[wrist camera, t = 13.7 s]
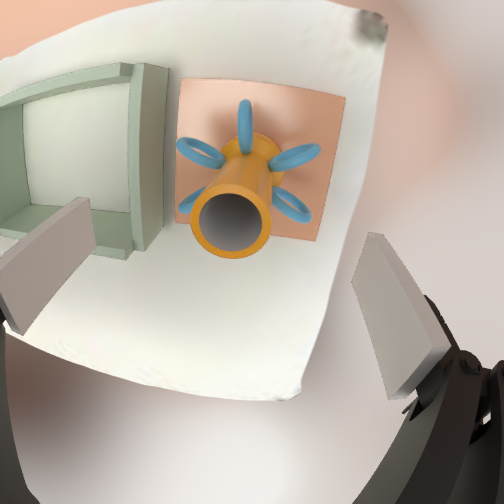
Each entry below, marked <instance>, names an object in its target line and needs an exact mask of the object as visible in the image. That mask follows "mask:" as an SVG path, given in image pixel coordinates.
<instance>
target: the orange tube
mask: <svg viewBox="0 0 504 504" xmlns="http://www.w3.org/2000/svg"><path fill="white" fill-rule="evenodd" d="M176 147H177V149H178V150H179V152H180V153H181V154H182V155H184V156H185V157H186V158H188V159H189V160H191V161H193V162H195V163H197V164H199V165H201V166H204V167H207V168H210V169H215V176H214V177H213V179H212V180H211V181H210V183H209V184H208V185H207V186H205V187H203V188H201V189H199V190H197V191H196V192H194V193H192V194H191V195H189V196H188V197H187V198H185V199H184V200H183V201H182V202H181V203H180V204H179V206H178V210H179V212H180V213H182V214H187V213H191V216H190V223H191V228H192V231H193V234H194V236H195V238H196V239H197V241H198V242H199V243H200V244H201V245H202V246H203V247H204V248H205V249H206V250H207V251H209V252H211V253H212V254H214V255H217V256H219V257H223V258H229V259H238V258H244V257H247V256H250V255H252V254H254V253H255V252H257V251H258V250H259V249H261V248H262V247H263V245H264V244H265V243H266V241H267V240H268V238H269V235H270V232H271V223H272V205H273V206H274V207H275V208H277V209H278V210H279V211H280V212H281V213H283V214H284V215H286V216H287V217H289V218H290V219H292V220H294V221H296V222H299V223H304V224H306V223H309V222H310V221H311V220H312V213H311V211H310V210H309V208H308V207H307V206H306V205H305V204H304V203H303V202H302V201H301V200H300V199H298V198H297V197H296V196H294V195H293V194H291V193H290V192H288V191H286V190H284V189H282V188H280V187H279V186H280V184H281V182H282V179H283V175H284V171H286V170H289V169H292V168H295V167H298V166H300V165H303V164H305V163H307V162H309V161H311V160H312V159H314V158H315V157H317V156H318V155H319V153H320V151H321V148H320V146H319V145H318V144H316V143H308V144H304V145H300V146H297V147H294V148H291V149H289V150H286V151H284V152H282V153H281V151H280V149H279V147H278V145H277V144H276V143H275V142H274V141H273V140H272V139H271V138H270V137H268V136H266V135H264V134H261V133H257V132H253V114H252V106H251V102H250V101H249V100H247V99H244V100H242V101H241V102H240V103H239V107H238V136H236V137H234V138H233V139H232V140H231V141H229V142H228V143H227V144H226V145H225V146H224V147H223V148H222V149H221V151H220V152H219V151H218V150H217V149H215V148H214V147H212V146H211V145H209V144H207V143H205V142H203V141H200V140H198V139H194V138H190V137H181V138H179V139H178V140H177V142H176ZM191 147H192V148H195V149H198V150H200V151H202V152H204V153H206V154H208V155H209V156H211V157H212V158H210V157H207V156H205V155H203V154H201V153H199V152H197V151H195V150H194V149H192V148H191ZM281 198H282V199H284V200H286V201H287V202H289V203H290V204H292V205H293V206H294V207H295V208H296V209H297V210H298V211H297V210H295V209H294V208H292V207H291V206H289V205H288V204H287V203H285V202H284V201H283V200H282V199H281Z"/></svg>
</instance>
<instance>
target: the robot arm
mask: <svg viewBox="0 0 504 504" xmlns="http://www.w3.org/2000/svg"><path fill="white" fill-rule="evenodd" d="M95 248H96V241H95V236H94V230H93V223H92V217H91V209H90V201H89V198H80V197H78V198H76V199H75V200H73V201H72V202H70V203H69V204H67V205H66V206H64V207H63V208H61V209H60V210H59V211H57V212H56V213H54V214H53V215H52V216H50V217H49V218H48V219H46V220H45V221H44V222H42V223H41V224H40V225H38V226H37V227H36V228H35V229H33V230H32V231H31V232H30V233H28V234H27V235H26V236H25V237H23V238H22V239H21V240H20V241H19V242H17V243H16V244H15V245H14V246H13V247H11V248H10V249H9V250H8V251H7V252H6V253H5V254H4V255H2V256H1V257H0V504H40V503H39V501H38V500H37V499H36V498H35V497H34V496H33V495H32V493H31V492H30V491H29V490H28V488H27V485H26V483H25V480H24V477H23V473H22V470H21V467H20V463H19V459H18V455H17V451H16V447H15V443H14V438H13V433H12V427H11V421H10V415H9V407H8V400H7V388H6V373H5V327H4V326H3V324H2V323H3V322H4V321H5V320H6V321H7V322H8V324H9V326H10V328H11V330H12V331H14V332H16V333H18V334H20V335H22V336H23V335H24V334H25V333H26V331H27V330H28V328H29V327H30V326H31V324H32V323H33V322H34V320H35V319H36V318H37V316H38V315H39V314H40V312H41V311H42V310H43V308H44V307H45V306H46V305H47V303H48V302H49V301H50V300H51V298H52V297H53V296H54V295H55V293H56V292H57V291H58V290H59V289H60V287H61V286H62V285H63V284H64V283H65V281H66V280H67V279H68V278H69V277H70V276H71V274H72V273H73V272H74V271H75V270H76V269H77V268H78V267H79V265H80V264H81V263H82V262H83V261H84V260H85V259H86V258H87V257H88V256H89V255H90V254H91V252H92V251H93V250H94V249H95ZM351 283H352V285H353V288H354V291H355V293H356V296H357V299H358V302H359V305H360V307H361V310H362V313H363V316H364V319H365V322H366V325H367V328H368V331H369V334H370V338H371V341H372V344H373V347H374V351H375V354H376V357H377V361H378V364H379V367H380V371H381V375H382V378H383V382H384V386H385V390H386V393H387V397H388V400H395V399H404V398H407V397H408V396H409V395H410V394H411V393H412V392H413V391H414V390H415V389H416V391H417V394H418V397H417V398H416V399H415V400H414V401H413V402H412V403H411V404H410V405H409V406H408V407H406V408H405V409H404V411H403V412H402V414H405V413H406V412H407V411H408V410H409V412H408V414H407V416H406V418H405V420H404V422H403V424H402V426H401V428H400V430H399V432H398V434H397V436H396V438H395V439H394V441H393V443H392V445H391V447H390V448H389V450H388V452H387V454H386V455H385V457H384V458H383V460H382V461H381V463H380V465H379V466H378V468H377V470H376V471H375V473H374V474H373V476H372V477H371V479H370V480H369V482H368V483H367V484H366V486H365V487H364V489H363V490H362V491H361V493H360V494H359V496H358V497H357V498H356V499H355V501H354V502H353V503H352V504H504V360H501V361H499V362H498V363H497V365H495V367H494V368H493V369H492V370H491V369H487V368H482V366H481V363H480V361H479V360H478V359H477V357H476V356H475V355H473V354H472V353H470V352H468V351H466V350H460V349H459V347H458V345H457V343H456V341H455V339H454V337H453V335H452V333H451V331H450V330H449V328H448V326H447V324H446V323H445V321H444V319H443V317H442V316H441V315H440V312H439V310H438V309H437V307H436V305H435V304H434V303H433V302H432V301H431V300H430V299H429V298H428V297H427V296H426V295H423V294H422V292H421V291H420V289H419V287H418V286H417V284H416V282H415V281H414V279H413V278H412V276H411V274H410V273H409V271H408V270H407V268H406V267H405V265H404V264H403V262H402V261H401V259H400V258H399V256H398V255H397V253H396V252H395V250H394V249H393V248H392V246H391V245H390V243H389V242H388V241H387V239H386V238H385V236H384V235H383V234H378V233H373V232H368V235H367V239H366V241H365V244H364V247H363V250H362V254H361V256H360V259H359V262H358V265H357V267H356V270H355V273H354V275H353V278H352V281H351ZM490 412H491V419H490V420H489V421H488V422H487V423H486V424H483V418H484V417H485V416H487V415H488V414H489V413H490Z"/></svg>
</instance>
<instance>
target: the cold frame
mask: <svg viewBox="0 0 504 504" xmlns="http://www.w3.org/2000/svg"><path fill="white" fill-rule="evenodd" d="M168 75H169V69H167V68H163V67H159V66H155V65H151V64H146V63H139V64H127V63H121V62H120V63H114V64H108V65H103V66H98V67H93V68H88V69H84V70H79V71H75V72H71V73H68V74H64V75H60V76H57V77H53V78H50V79H47V80H44V81H41V82H38V83H35V84H32V85H29V86H27V87H24V88H21V89H19V90H16V91H14V92H11V93H9V94H6V95H4V96H2V97H0V235H1V236H5V237H10V238H14V239H19V240H21V239H22V238H23V237H25V236H26V235H27V234H28V233H30V232H31V231H32V230H33V229H35V228H36V227H37V226H38V225H40V224H41V223H42V222H44V221H45V220H46V219H48V218H49V217H50V216H52V215H53V214H54V213H56V212H57V211H59V210H60V209H61V208H63V207H59V206H47V205H35V204H31V201H30V196H29V189H28V183H27V175H26V167H25V157H24V144H23V104H25V103H28V102H31V101H34V100H38V99H41V98H45V97H49V96H53V95H57V94H61V93H65V92H70V91H75V90H80V89H85V88H91V87H96V86H103V85H110V84H118V83H126V82H130V93H129V110H128V182H129V200H130V213H122V212H112V211H102V210H92V209H91V217H92V223H93V230H94V236H95V241H96V248H95V249H94V250H93V251H92V252H91V254H94V255H99V256H105V257H110V258H116V259H122V260H127V258H128V257H129V256H130V255H131V253H132V252H133V251H134V250H137V251H145V250H146V249H147V247H148V246H149V245H150V243H151V242H152V241H153V239H154V238H155V237H156V236H157V234H158V233H159V232H160V230H161V229H162V228H163V227H164V214H163V152H164V127H165V110H166V97H167V85H168Z"/></svg>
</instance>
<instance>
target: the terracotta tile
mask: <svg viewBox="0 0 504 504" xmlns="http://www.w3.org/2000/svg"><path fill="white" fill-rule="evenodd" d="M244 99H247V100H249V101H250V102H251V106H252V114H253V132H257V133H261V134H264V135H266V136H268V137H270V138H271V139H272V140H273V141H274V142H275V143H276V144H277V145H278V147H279V149H280V151H281V153H282V152H284V151H286V150H289V149H291V148H294V147H297V146H300V145H304V144H308V143H316V144H318V145H319V146H320V148H321V151H320V153H319V155H318V156H317V157H315V158H314V159H312V160H311V161H309V162H307V163H305V164H303V165H300V166H298V167H295V168H292V169H289V170H286V171H284V175H283V179H282V182H281V184H280V186H279V187H280V188H282V189H284V190H286V191H288V192H290V193H291V194H293V195H294V196H296V197H297V198H298V199H300V200H301V201H302V202H303V203H304V204H305V205H306V206H307V207H308V208H309V210H310V211H311V213H312V220H311V221H310V222H309V223H306V224H304V223H299V222H296V221H294V220H292V219H290V218H289V217H287V216H286V215H284V214H283V213H281V212H280V211H279V210H278V209H277V208H275V207H274V206H273V205H272V223H271V232H270V235H274V236H281V237H288V238H295V239H302V240H309V241H315V242H316V238H317V234H318V230H319V226H320V222H321V217H322V213H323V209H324V205H325V200H326V196H327V191H328V187H329V182H330V178H331V173H332V168H333V163H334V159H335V154H336V148H337V143H338V138H339V133H340V127H341V121H342V116H343V110H344V104H345V97H341V96H336V95H332V94H328V93H323V92H318V91H313V90H308V89H303V88H297V87H291V86H285V85H278V84H270V83H262V82H253V81H242V80H228V79H203V78H181V86H180V96H179V109H178V123H177V140H178V139H179V138H181V137H190V138H194V139H198V140H200V141H203V142H205V143H207V144H209V145H211V146H212V147H214V148H215V149H217V150H218V151H219V152H220V151H221V149H222V148H223V147H224V146H225V145H226V144H227V143H228V142H229V141H231V140H232V139H233V138H234V137H236V136H238V107H239V103H240V102H241V101H242V100H244ZM177 140H176V142H177ZM191 148H192V147H191ZM192 149H194V150H195V151H197V152H199V153H201V154H203V155H205V156H207V157H210V158H212V157H211V156H209V155H208V154H206V153H204V152H202V151H200V150H198V149H195V148H192ZM214 176H215V169H210V168H207V167H204V166H201V165H199V164H197V163H195V162H193V161H191V160H189V159H188V158H186V157H185V156H184V155H182V154H181V153H180V152H179V150H178V149H177V147H176V165H175V222H176V223H184V224H191V223H190V216H191V213H187V214H182V213H180V212H179V210H178V206H179V204H180V203H181V202H182V201H183V200H184V199H185V198H187V197H188V196H189V195H191V194H192V193H194V192H196V191H197V190H199V189H201V188H203V187H205V186H207V185H208V184H209V183H210V181H211V180H212V179H213V177H214ZM281 199H282V198H281ZM282 200H283V201H284V202H285V203H287V204H288V205H289V206H291V207H292V208H294V209H295V210H297V209H296V208H295V207H294V206H293V205H292V204H290V203H289V202H287V201H286V200H284V199H282ZM297 211H298V210H297Z"/></svg>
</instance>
